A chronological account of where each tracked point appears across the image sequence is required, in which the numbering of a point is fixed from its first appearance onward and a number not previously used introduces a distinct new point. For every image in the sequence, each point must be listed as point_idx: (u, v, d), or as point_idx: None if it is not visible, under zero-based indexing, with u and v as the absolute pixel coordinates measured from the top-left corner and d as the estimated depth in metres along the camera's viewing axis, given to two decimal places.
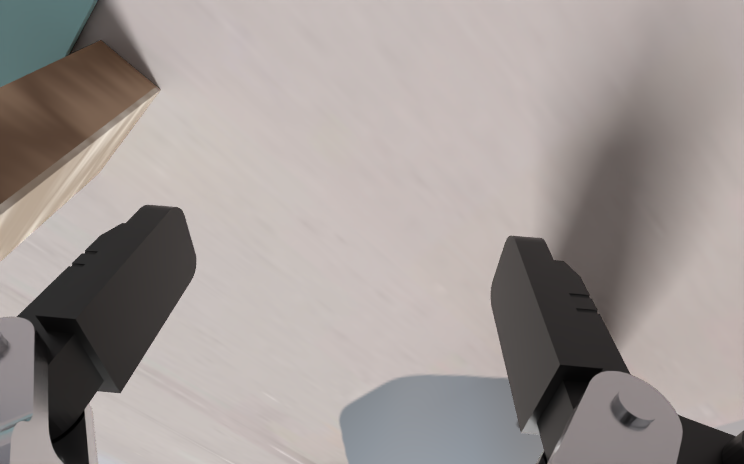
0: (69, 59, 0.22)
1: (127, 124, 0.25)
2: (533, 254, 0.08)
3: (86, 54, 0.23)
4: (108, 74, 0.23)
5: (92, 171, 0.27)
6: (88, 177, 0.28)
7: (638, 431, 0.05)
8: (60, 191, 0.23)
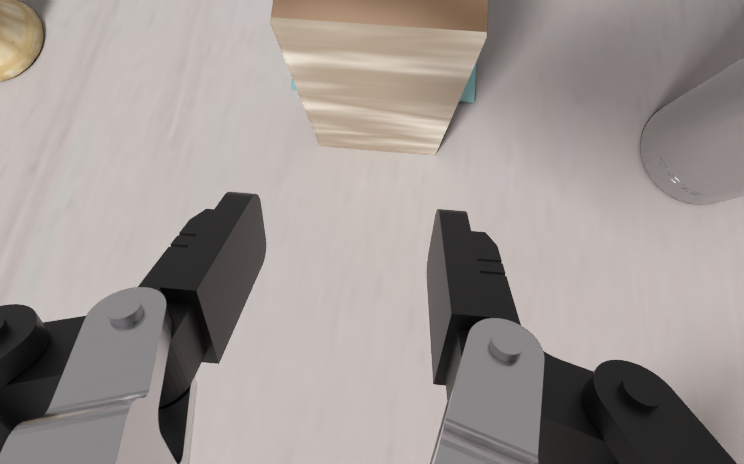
0: None
1: (414, 143, 0.32)
2: (453, 224, 0.09)
3: None
4: None
5: (350, 137, 0.31)
6: (339, 137, 0.32)
7: (503, 364, 0.06)
8: (378, 114, 0.27)
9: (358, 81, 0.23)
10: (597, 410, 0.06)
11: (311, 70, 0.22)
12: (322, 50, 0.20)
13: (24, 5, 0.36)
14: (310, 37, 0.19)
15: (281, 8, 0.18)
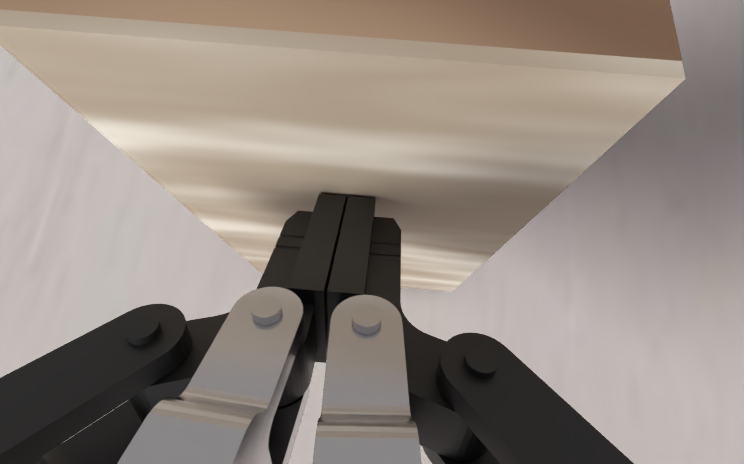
0: None
1: (419, 278, 0.18)
2: (358, 210, 0.09)
3: None
4: None
5: None
6: None
7: (358, 336, 0.06)
8: None
9: (300, 187, 0.10)
10: (450, 391, 0.06)
11: (184, 163, 0.09)
12: (184, 115, 0.07)
13: None
14: (130, 75, 0.06)
15: None
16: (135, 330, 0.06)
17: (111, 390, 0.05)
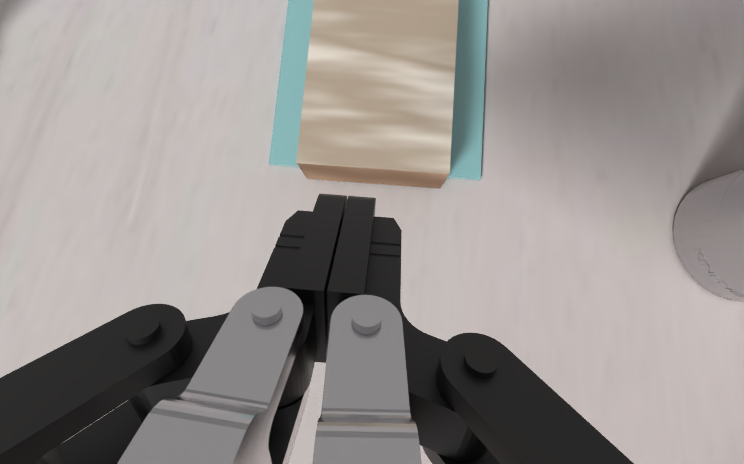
0: None
1: (420, 135, 0.26)
2: (357, 209, 0.09)
3: None
4: None
5: (342, 126, 0.26)
6: (329, 127, 0.26)
7: (358, 336, 0.06)
8: (382, 65, 0.26)
9: (369, 7, 0.27)
10: (450, 392, 0.06)
11: None
12: None
13: None
14: None
15: None
16: (135, 330, 0.06)
17: (112, 391, 0.05)
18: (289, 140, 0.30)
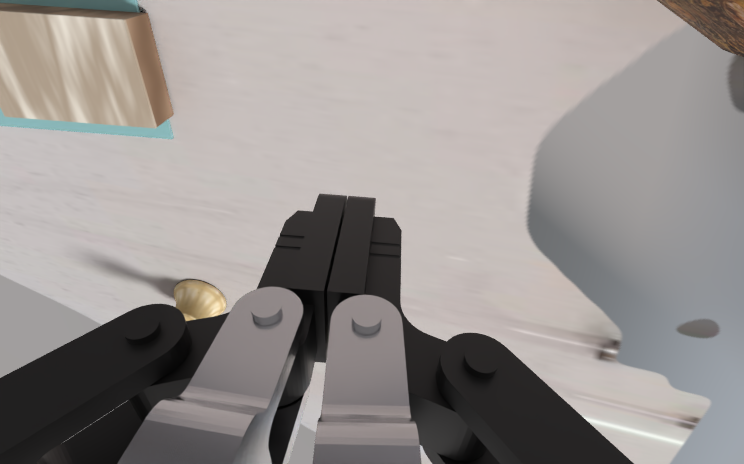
0: (114, 11, 0.38)
1: (105, 42, 0.36)
2: (358, 210, 0.09)
3: (126, 12, 0.38)
4: (114, 14, 0.36)
5: (121, 99, 0.39)
6: (125, 108, 0.40)
7: (358, 336, 0.06)
8: (68, 72, 0.38)
9: (31, 81, 0.39)
10: (450, 392, 0.06)
11: (35, 107, 0.40)
12: (12, 97, 0.40)
13: (175, 289, 0.61)
14: (4, 100, 0.40)
15: None
16: (135, 330, 0.06)
17: (111, 391, 0.05)
18: None
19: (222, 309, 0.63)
